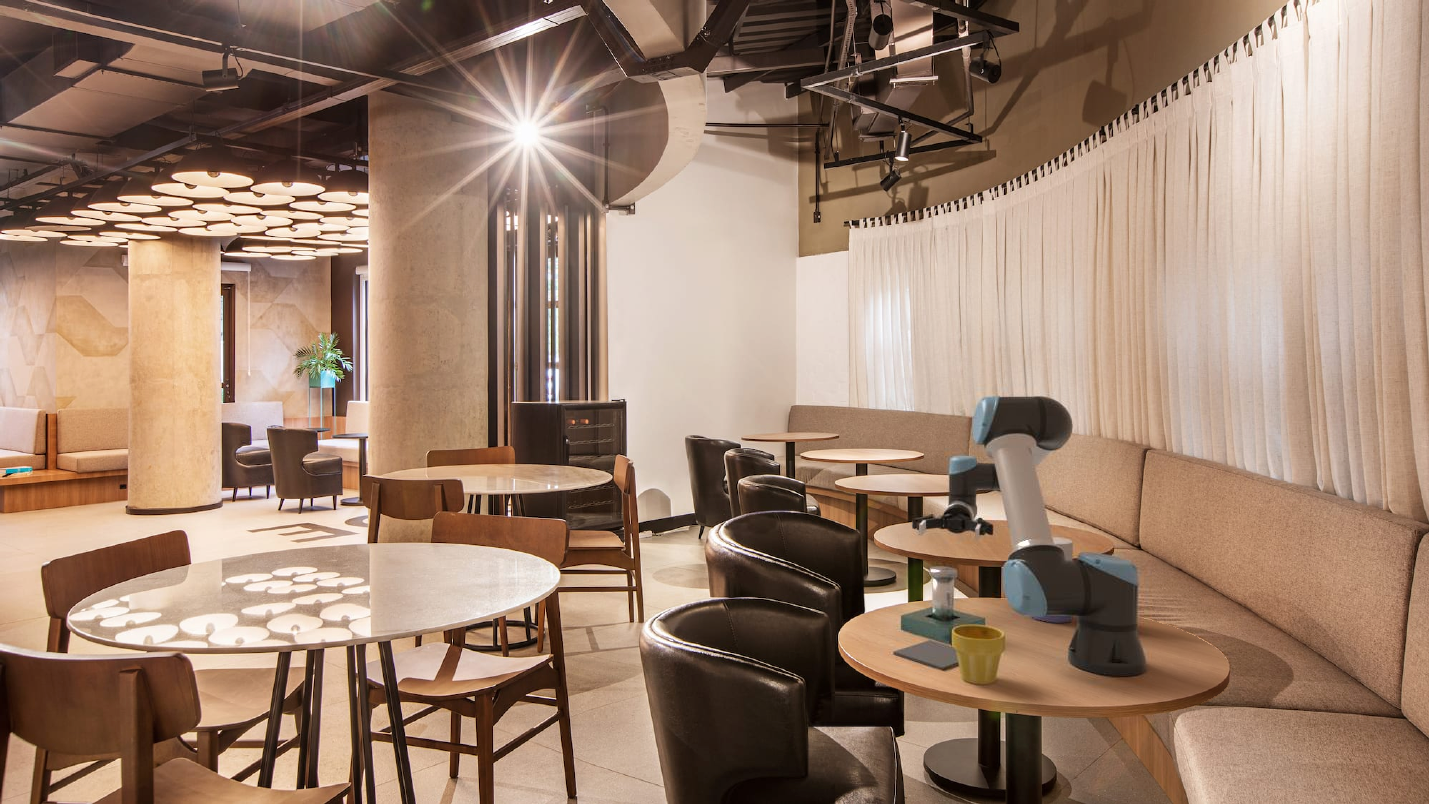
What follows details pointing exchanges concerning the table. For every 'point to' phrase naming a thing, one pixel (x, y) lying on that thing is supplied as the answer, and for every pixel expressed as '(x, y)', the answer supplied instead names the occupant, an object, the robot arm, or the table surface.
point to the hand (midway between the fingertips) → (948, 532)
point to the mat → (930, 654)
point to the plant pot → (978, 652)
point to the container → (1068, 552)
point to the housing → (936, 624)
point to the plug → (943, 592)
